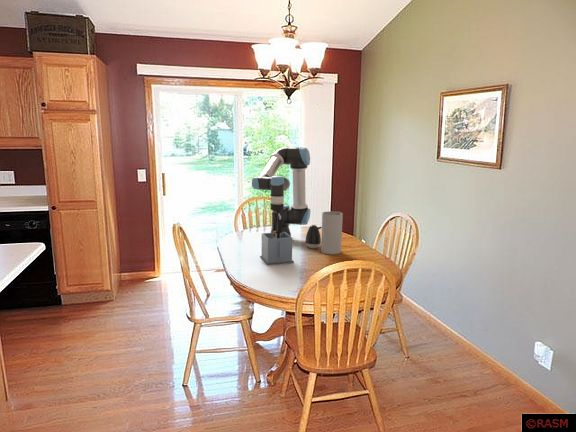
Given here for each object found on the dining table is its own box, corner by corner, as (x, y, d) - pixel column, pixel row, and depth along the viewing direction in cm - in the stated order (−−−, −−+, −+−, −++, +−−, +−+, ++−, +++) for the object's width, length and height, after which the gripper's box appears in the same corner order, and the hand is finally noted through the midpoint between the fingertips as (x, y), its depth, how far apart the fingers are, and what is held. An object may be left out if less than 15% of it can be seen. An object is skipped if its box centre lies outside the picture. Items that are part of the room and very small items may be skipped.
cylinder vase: (320, 249, 266) (321, 211, 261) (340, 249, 266) (341, 211, 261) (321, 254, 254) (322, 214, 249) (341, 255, 254) (343, 215, 249)
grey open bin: (259, 257, 247) (260, 233, 244) (285, 255, 252) (285, 231, 249) (267, 266, 230) (267, 240, 227) (294, 263, 235) (295, 238, 232)
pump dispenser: (320, 250, 264) (320, 227, 261) (304, 249, 266) (304, 226, 263) (322, 246, 274) (322, 223, 271) (306, 245, 276) (307, 222, 273)
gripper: (266, 201, 242) (266, 239, 246) (274, 205, 226) (274, 247, 231) (279, 200, 244) (278, 238, 249) (287, 205, 228) (287, 246, 233)
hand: (276, 242), depth 240 cm, fingers closed on plunger, 4 cm apart
